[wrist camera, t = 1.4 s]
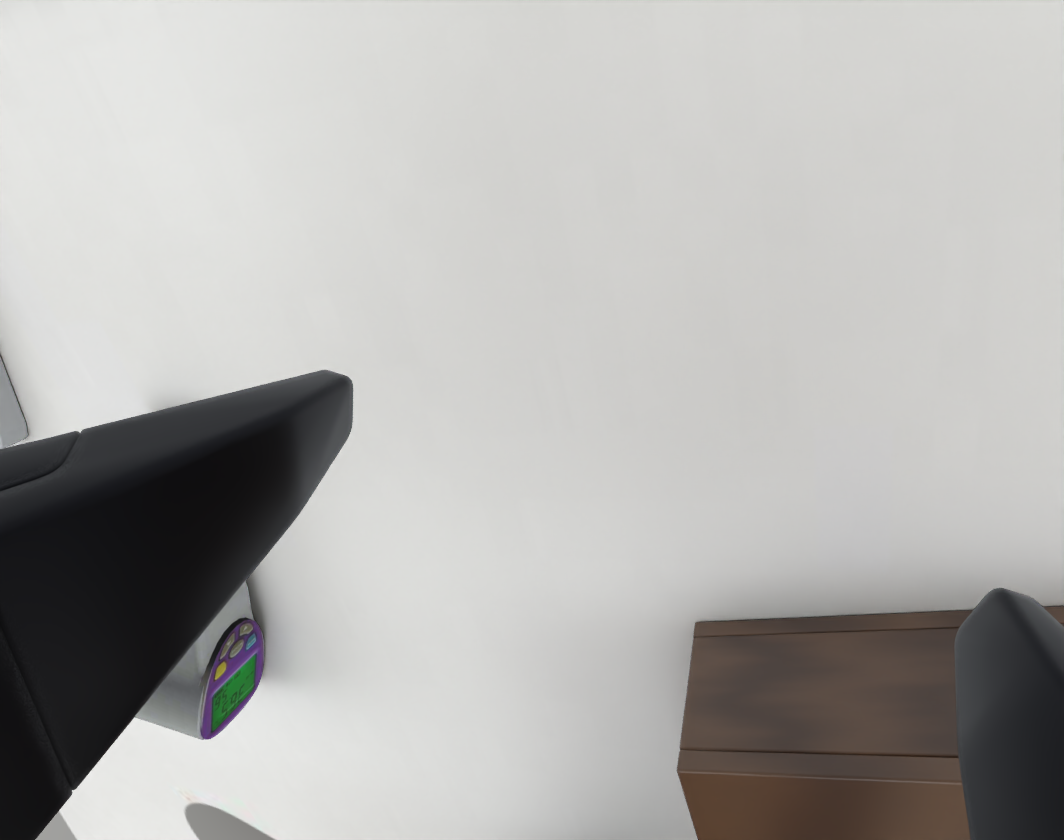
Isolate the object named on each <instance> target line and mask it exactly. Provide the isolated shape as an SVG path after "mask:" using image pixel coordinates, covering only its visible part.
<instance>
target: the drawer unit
mask: <svg viewBox="0 0 1064 840" xmlns="http://www.w3.org/2000/svg"><path fill="white" fill-rule="evenodd" d="M1043 608H1044V609H1045V610H1046V611H1047V612H1048V613H1050V614H1051V615H1052V616H1053V617H1054V618H1055V619H1056V620H1057V621H1058V622H1059V623H1060V624H1061V625H1062V626H1063V627H1064V606H1058V607H1043ZM972 611H973V610H968V611H945V612H923V613H900V614H877V615H855V616H832V617H810V618H787V619H765V620H742V621H719V622H697V623H695V628H694V636H693V637H694V639H693V646H692V654H691V662H690V670H689V678H688V686H687V694H686V702H685V710H684V718H683V726H682V733H681V741H680V752H679V758H678V766H677V773H678V776H679V779H680V782H681V786H682V789H683V792H684V795H685V799H686V802H687V805H688V808H689V812H690V815H691V818H692V821H693V825H694V828H695V831H696V834H697V838H698V840H971V839H970V832H969V826H968V819H967V812H966V806H965V799H964V792H963V786H962V779H961V772H960V764H959V756H958V743H957V717H956V683H955V648H954V646H955V637H956V634H957V632H958V630H959V628H960V626H961V625H962V624H963V622H964V621H965V620H966V619H967V617H968V616H969V615H970V614H971V613H972Z"/></svg>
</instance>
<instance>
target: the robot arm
mask: <svg viewBox="0 0 1064 840" xmlns="http://www.w3.org/2000/svg"><path fill="white" fill-rule="evenodd" d="M352 420H353V383H352V381H351V379H350V378H349V377H347V376H344V375H341V374H338V373H335V372H332V371H329V370H321V371H317V372H313V373H309V374H305V375H301V376H297V377H293V378H289V379H285V380H281V381H276V382H272V383H268V384H264V385H260V386H256V387H252V388H248V389H244V390H240V391H236V392H232V393H228V394H224V395H220V396H216V397H212V398H208V399H204V400H200V401H196V402H192V403H188V404H184V405H180V406H176V407H172V408H168V409H164V410H160V411H156V412H151V413H147V414H143V415H139V416H135V417H131V418H127V419H123V420H119V421H115V422H111V423H107V424H103V425H99V426H95V427H91V428H87V429H84V430H82V431H81V433H79V432H78V431H74V432H70V433H66V434H62V435H58V436H54V437H51V438H47V439H42V440H38V441H34V442H29V443H25V444H21V445H16V446H12V447H8V448H4V449H0V840H35V839H36V838H37V837H38V836H39V834H40V833H41V832H42V831H43V829H44V828H45V827H46V826H47V824H48V823H49V822H50V821H51V820H52V818H53V817H54V816H55V815H56V814H57V812H58V811H59V810H60V809H61V807H62V806H63V805H64V804H65V802H66V801H67V800H68V799H69V798H70V796H71V795H72V790H75V789H76V788H77V787H78V786H79V785H80V783H81V782H82V781H83V780H84V778H85V777H86V776H87V775H88V774H89V772H90V771H91V770H92V769H93V767H94V766H95V765H96V764H97V762H98V761H99V760H100V759H101V758H102V756H103V755H104V754H105V753H106V751H107V750H108V749H109V748H110V746H111V745H112V744H113V743H114V742H115V740H116V739H117V738H118V737H119V735H120V734H121V733H122V732H123V731H124V729H125V728H126V727H127V726H128V724H129V723H130V722H131V721H132V719H133V718H134V717H135V716H136V715H137V713H138V712H139V711H140V710H141V708H142V707H143V706H144V705H145V704H146V702H147V701H148V700H149V699H150V697H151V696H152V695H153V694H154V692H155V691H156V690H157V689H158V688H159V686H160V685H161V684H162V683H163V681H164V680H165V679H166V678H167V677H168V675H169V674H170V673H171V672H172V670H173V669H174V668H175V667H176V665H177V664H178V663H179V662H180V661H181V659H182V658H183V657H184V656H185V654H186V653H187V652H188V651H189V649H190V648H191V647H192V646H193V645H194V643H195V642H196V641H197V640H198V638H199V637H200V636H201V635H202V634H203V632H204V631H205V630H206V629H207V627H208V626H209V625H210V624H211V622H212V621H213V620H214V619H215V618H216V616H217V615H218V614H219V613H220V611H221V610H222V609H223V608H224V607H225V605H226V604H227V603H228V602H229V600H230V599H231V598H232V597H233V595H234V594H235V593H236V592H237V591H238V589H239V588H240V587H241V586H242V584H243V583H244V582H245V581H246V579H247V578H248V577H249V576H250V575H251V573H252V572H253V571H254V570H255V568H256V567H257V566H258V565H259V564H260V562H261V561H262V560H263V559H264V557H265V556H266V555H267V554H268V552H269V551H270V550H271V549H272V548H273V546H274V545H275V544H276V543H277V541H278V540H279V539H280V538H281V537H282V535H283V534H284V533H285V532H286V530H287V529H288V528H289V527H290V525H291V524H292V523H293V521H294V520H295V519H296V518H297V516H298V515H299V513H300V512H301V511H302V509H303V508H304V506H305V505H306V503H307V502H308V500H309V498H310V497H311V495H312V494H313V492H314V491H315V489H316V487H317V486H318V484H319V483H320V481H321V480H322V478H323V476H324V475H325V473H326V472H327V470H328V469H329V467H330V465H331V464H332V462H333V461H334V459H335V458H336V456H337V454H338V453H339V451H340V450H341V448H342V447H343V445H344V443H345V442H346V440H347V439H348V437H349V434H350V432H351V428H352ZM954 648H955V683H956V717H957V743H958V756H959V764H960V772H961V779H962V786H963V792H964V799H965V806H966V812H967V819H968V826H969V832H970V839H971V840H1064V627H1063V626H1062V625H1061V624H1060V623H1059V622H1058V621H1057V620H1056V619H1055V618H1054V617H1053V616H1052V615H1051V614H1050V613H1048V612H1047V611H1046V610H1045V609H1044V608H1043V607H1042V606H1041V605H1040V604H1039V603H1038V602H1037V601H1036V600H1034V599H1033V598H1031V597H1028V596H1025V595H1022V594H1019V593H1016V592H1013V591H1010V590H1007V589H1004V588H996V589H993V590H991V591H990V592H989V593H988V594H987V595H986V596H985V597H984V598H983V599H982V601H981V602H980V603H979V604H978V605H977V607H976V608H975V609H974V610H973V611H972V613H971V614H970V615H969V616H968V617H967V619H966V620H965V621H964V622H963V624H962V625H961V626H960V628H959V630H958V632H957V634H956V637H955V646H954Z"/></svg>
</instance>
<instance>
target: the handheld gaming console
mask: <svg viewBox="0 0 1064 840" xmlns="http://www.w3.org/2000/svg"><path fill="white" fill-rule="evenodd" d="M27 436H28V433H27V426H26V422H25V420H24V417H23V414H22V412H21V409H20V407H19V404H18V401H17V399H16V396H15V393H14V391H13V388H12V386H11V383H10V380H9V378H8V375H7V373H6V370H5V367H4V365H3V362H2V360H1V357H0V449H4V448H6V447H8V446H10V445H13V444H15V443H17V442H19V441H21V440H23V439H25V438H26V437H27Z"/></svg>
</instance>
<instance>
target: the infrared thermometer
mask: <svg viewBox="0 0 1064 840" xmlns="http://www.w3.org/2000/svg"><path fill="white" fill-rule="evenodd" d="M263 664H264V639H263V635H262V631H261V629H260V626H259V625H258V624H257V623H256V621H254V619H253V615H252V610H251V604H250V597H249V591H248V587H247V584H246V581H245V582H244V583H243V584H242V586H241V587H240V588H239V589H238V591H237V592H236V593H235V594H234V595H233V597H232V598H231V599H230V600H229V602H228V603H227V604H226V605H225V607H224V608H223V609H222V610H221V611H220V613H219V614H218V615H217V616H216V618H215V619H214V620H213V621H212V622H211V624H210V625H209V626H208V627H207V629H206V630H205V631H204V632H203V634H202V635H201V636H200V637H199V638H198V640H197V641H196V642H195V643H194V645H193V646H192V647H191V648H190V649H189V651H188V652H187V653H186V654H185V656H184V657H183V658H182V659H181V661H180V662H179V663H178V664H177V665H176V667H175V668H174V669H173V670H172V672H171V673H170V674H169V675H168V677H167V678H166V679H165V680H164V681H163V683H162V684H161V685H160V686H159V688H158V689H157V690H156V691H155V692H154V694H153V695H152V696H151V697H150V699H149V700H148V701H147V702H146V704H145V705H144V706H143V707H142V708H141V710H140V711H139V712H138V713H137V715H136V716H135V717H136V718H139V719H142V720H145V721H148V722H151V723H154V724H157V725H160V726H163V727H166V728H169V729H172V730H175V731H178V732H181V733H184V734H187V735H190V736H192V737H195V738H198V739H201V740H204V739H211V738H213V737H214V736H216V735H217V734H218V733H220V732H221V731H222V730H223V729H224V728H225V727H226V726H227V725H228V724H229V723H230V722H231V721H232V720H233V719H234V718H235V717H236V716H237V715H238V713H239V712H240V711H241V710H242V709H243V708H244V706H245V705H246V704H247V703H248V701H249V700H250V699H251V697H252V696H253V694H254V692H255V691H256V689H257V687H258V685H259V682H260V679H261V676H262V672H263Z"/></svg>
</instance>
